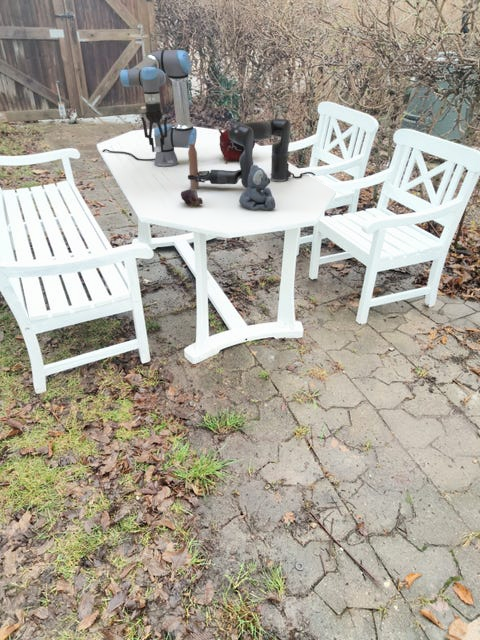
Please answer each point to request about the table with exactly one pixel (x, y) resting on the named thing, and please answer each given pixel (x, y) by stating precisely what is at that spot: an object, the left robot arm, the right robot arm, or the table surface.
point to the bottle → (193, 165)
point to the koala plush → (257, 191)
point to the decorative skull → (230, 147)
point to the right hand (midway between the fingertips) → (189, 175)
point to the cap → (157, 149)
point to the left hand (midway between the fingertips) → (157, 151)
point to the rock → (191, 197)
